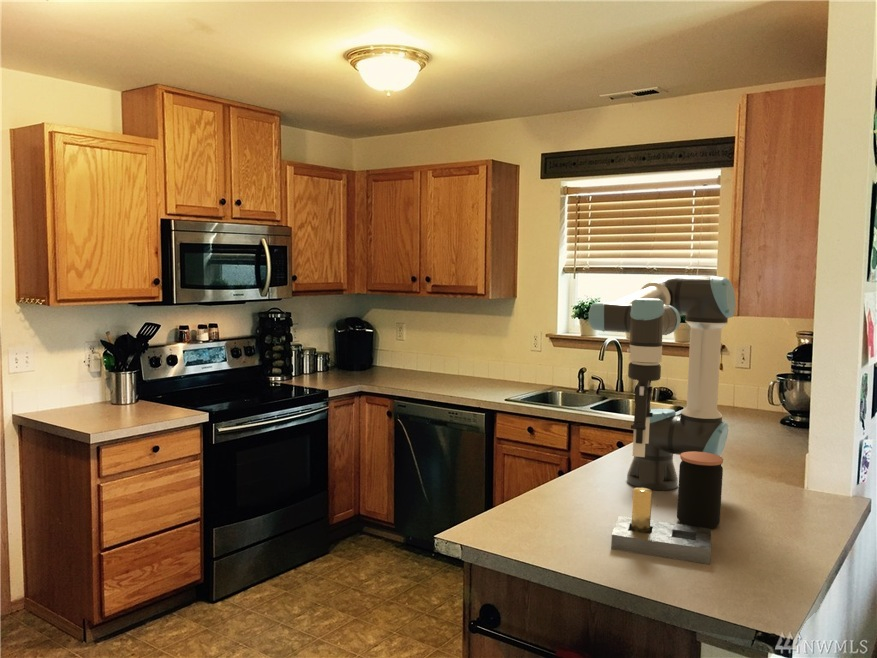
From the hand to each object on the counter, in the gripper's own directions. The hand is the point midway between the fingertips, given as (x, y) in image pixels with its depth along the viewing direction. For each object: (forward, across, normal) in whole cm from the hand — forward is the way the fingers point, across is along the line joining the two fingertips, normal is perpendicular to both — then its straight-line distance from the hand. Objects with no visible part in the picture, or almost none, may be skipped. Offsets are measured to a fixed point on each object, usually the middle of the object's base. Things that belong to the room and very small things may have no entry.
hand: (640, 449), depth 174 cm
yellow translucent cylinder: (+23, +2, +1) cm, 23 cm away
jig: (+23, +2, +6) cm, 24 cm away
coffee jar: (+23, -18, +14) cm, 33 cm away
